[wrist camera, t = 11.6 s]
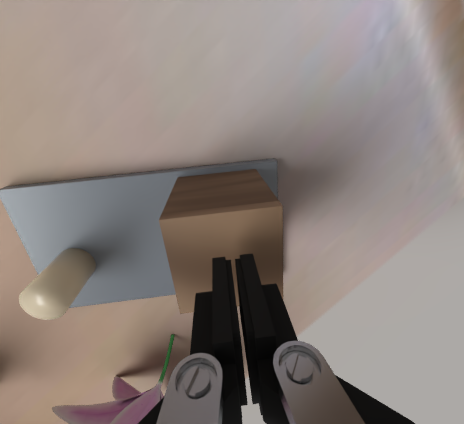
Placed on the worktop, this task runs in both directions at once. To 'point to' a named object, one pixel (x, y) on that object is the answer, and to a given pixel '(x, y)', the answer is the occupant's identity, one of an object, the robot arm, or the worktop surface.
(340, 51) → the worktop surface
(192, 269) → the wooden grain cube
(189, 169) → the slate stand
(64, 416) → the lily
